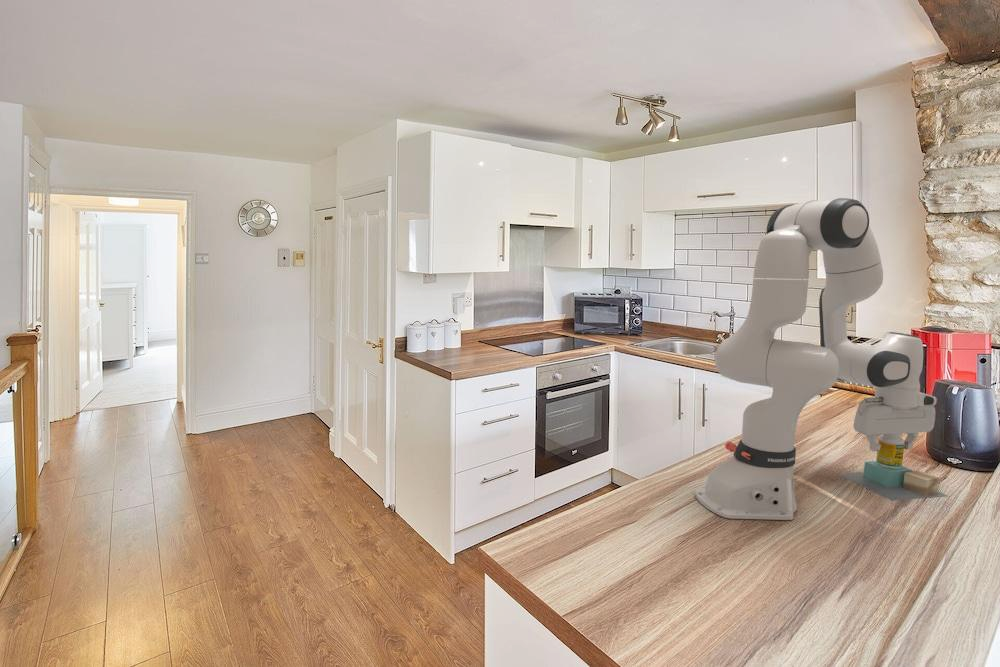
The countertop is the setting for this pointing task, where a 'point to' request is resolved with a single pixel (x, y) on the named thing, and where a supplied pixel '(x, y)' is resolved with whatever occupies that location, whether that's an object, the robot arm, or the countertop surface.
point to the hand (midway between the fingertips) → (890, 449)
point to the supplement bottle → (890, 451)
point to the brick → (921, 482)
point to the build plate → (887, 488)
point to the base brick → (885, 474)
